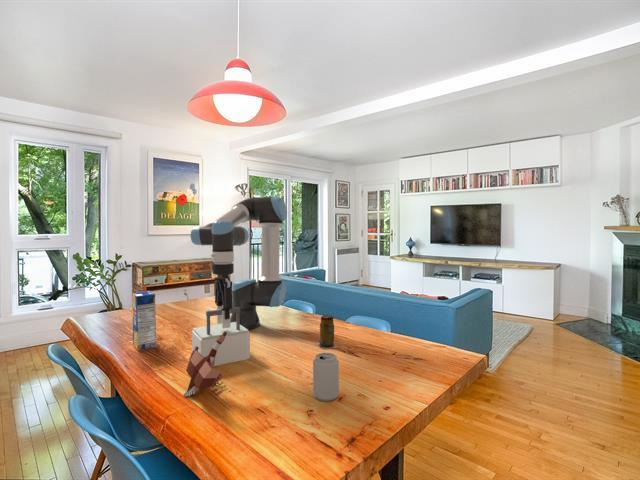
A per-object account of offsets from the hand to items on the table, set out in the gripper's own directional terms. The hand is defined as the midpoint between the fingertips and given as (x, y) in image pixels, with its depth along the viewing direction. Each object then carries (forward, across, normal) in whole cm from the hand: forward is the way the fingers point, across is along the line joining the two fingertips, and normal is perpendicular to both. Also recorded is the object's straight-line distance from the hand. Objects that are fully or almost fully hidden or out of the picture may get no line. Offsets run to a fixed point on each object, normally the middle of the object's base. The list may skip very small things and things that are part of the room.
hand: (223, 325), depth 129 cm
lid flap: (+3, -4, 0) cm, 5 cm away
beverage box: (+14, -35, -23) cm, 44 cm away
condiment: (+14, +6, +42) cm, 45 cm away
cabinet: (+13, -4, 0) cm, 14 cm away
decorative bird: (+14, +21, -12) cm, 28 cm away
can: (+14, +43, +17) cm, 48 cm away
